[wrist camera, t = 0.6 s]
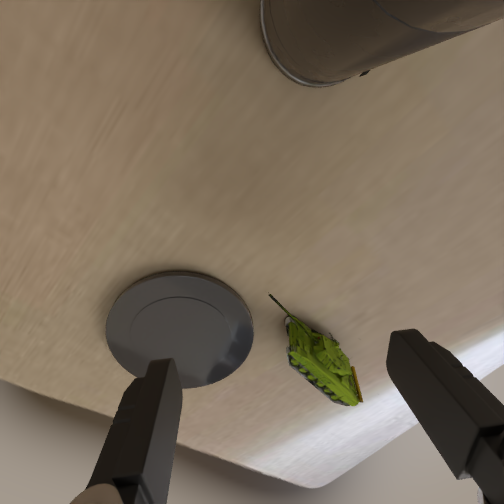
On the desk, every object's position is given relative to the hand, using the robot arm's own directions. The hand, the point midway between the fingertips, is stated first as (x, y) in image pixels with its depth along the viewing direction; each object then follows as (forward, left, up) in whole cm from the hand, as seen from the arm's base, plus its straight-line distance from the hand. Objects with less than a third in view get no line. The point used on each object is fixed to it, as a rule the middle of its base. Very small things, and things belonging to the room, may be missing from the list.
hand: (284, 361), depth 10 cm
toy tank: (+14, +7, -18) cm, 24 cm away
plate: (+13, -8, -18) cm, 24 cm away
